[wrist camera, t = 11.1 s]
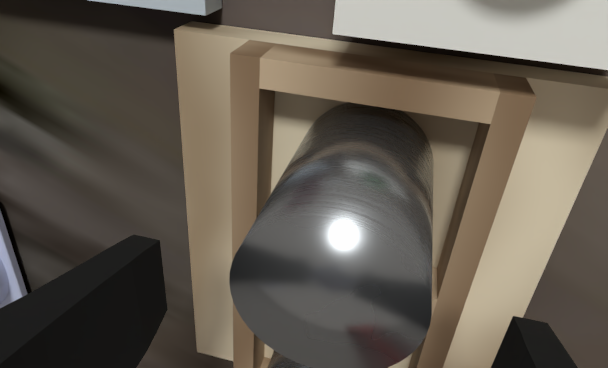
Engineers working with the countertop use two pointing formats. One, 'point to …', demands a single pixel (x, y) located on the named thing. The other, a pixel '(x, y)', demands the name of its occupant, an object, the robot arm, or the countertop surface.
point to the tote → (173, 5)
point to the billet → (344, 245)
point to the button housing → (486, 27)
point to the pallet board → (446, 174)
